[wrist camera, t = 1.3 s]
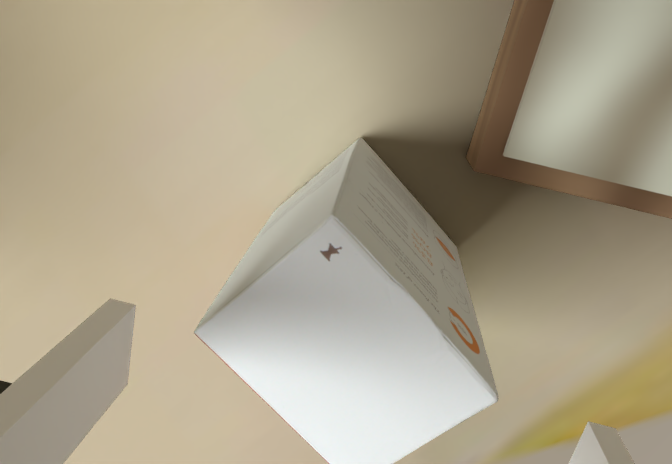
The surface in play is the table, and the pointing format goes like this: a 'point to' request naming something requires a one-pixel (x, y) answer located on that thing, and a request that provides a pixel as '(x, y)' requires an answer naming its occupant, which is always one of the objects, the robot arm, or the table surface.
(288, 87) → the table surface
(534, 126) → the stand
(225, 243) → the table surface
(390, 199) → the small box
